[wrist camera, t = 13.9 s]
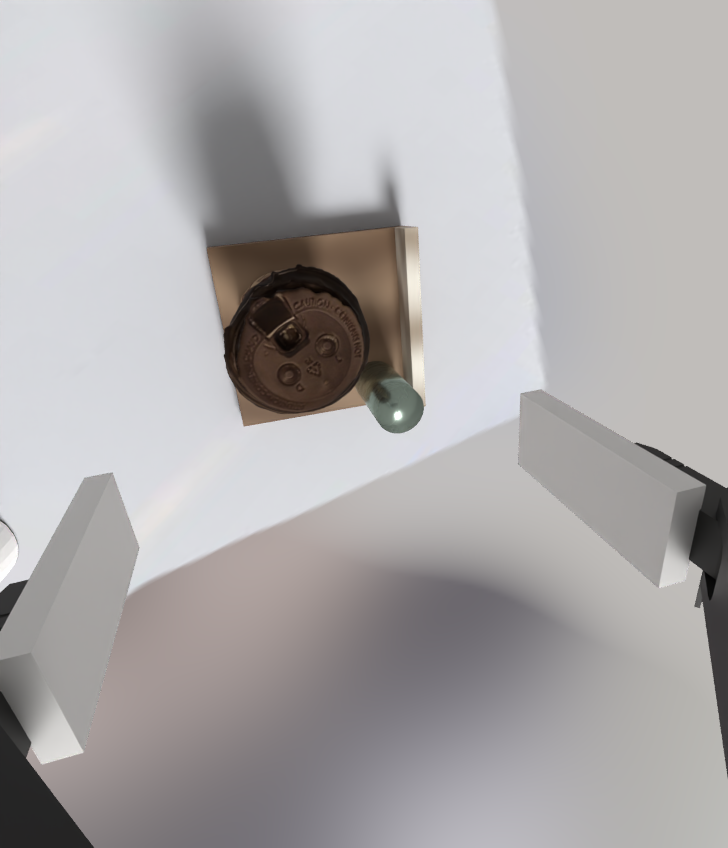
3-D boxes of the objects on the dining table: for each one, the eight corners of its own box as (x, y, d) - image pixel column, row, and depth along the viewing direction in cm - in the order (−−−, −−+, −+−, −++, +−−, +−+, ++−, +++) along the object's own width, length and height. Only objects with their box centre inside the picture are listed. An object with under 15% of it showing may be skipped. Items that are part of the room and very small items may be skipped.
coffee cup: (224, 246, 36) (219, 263, 24) (337, 253, 38) (384, 270, 26) (228, 364, 39) (226, 429, 27) (333, 364, 41) (372, 424, 29)
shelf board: (207, 247, 37) (204, 250, 33) (401, 225, 39) (417, 227, 36) (243, 419, 42) (244, 438, 39) (410, 390, 45) (425, 406, 42)
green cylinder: (353, 364, 41) (374, 391, 35) (394, 357, 42) (422, 383, 36) (357, 404, 43) (378, 437, 37) (397, 397, 43) (424, 428, 37)
